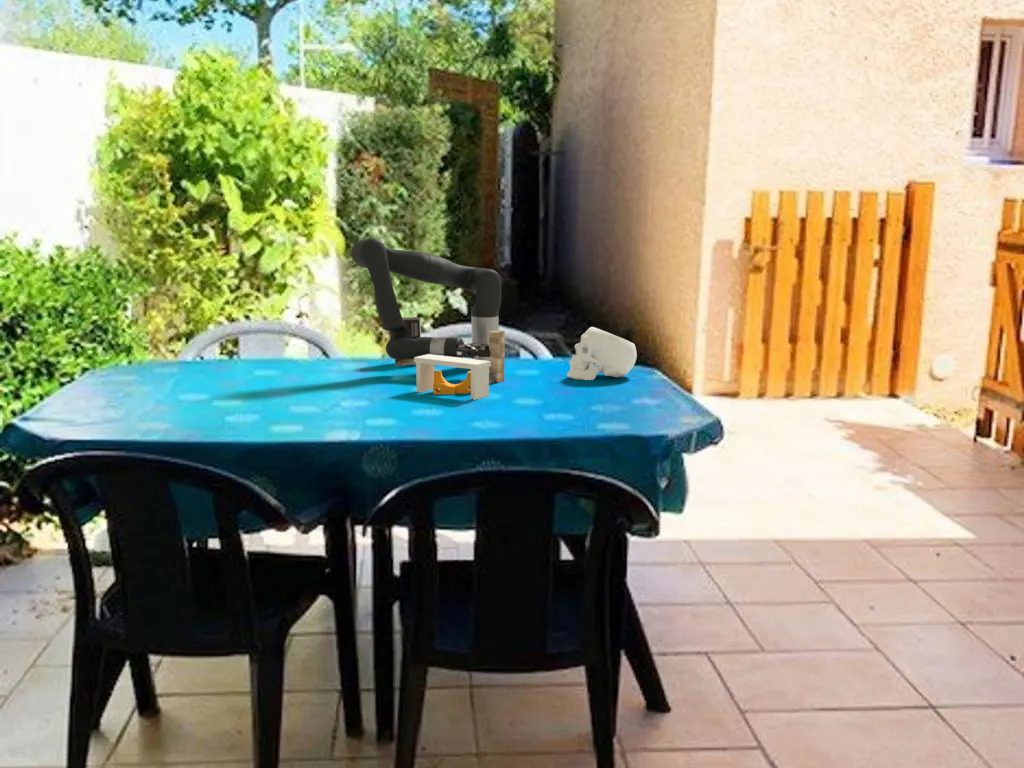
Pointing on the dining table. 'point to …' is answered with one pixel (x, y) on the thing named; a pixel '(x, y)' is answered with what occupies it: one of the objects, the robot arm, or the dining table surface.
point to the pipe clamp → (450, 385)
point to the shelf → (478, 367)
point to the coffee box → (415, 330)
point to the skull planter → (601, 355)
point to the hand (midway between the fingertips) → (494, 351)
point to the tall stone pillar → (496, 357)
